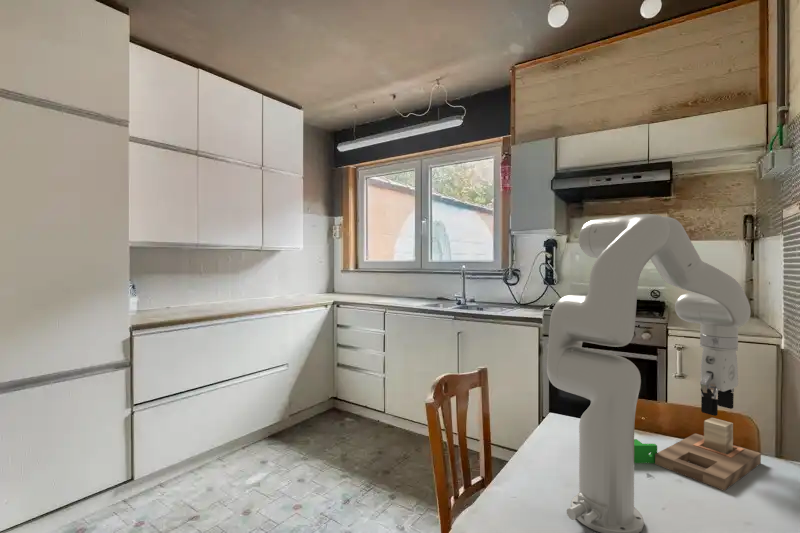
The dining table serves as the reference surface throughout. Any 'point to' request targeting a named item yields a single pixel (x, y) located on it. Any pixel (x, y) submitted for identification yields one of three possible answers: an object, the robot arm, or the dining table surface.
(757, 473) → the dining table surface
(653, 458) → the pipe clamp
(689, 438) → the socket plate
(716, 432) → the maple peg
